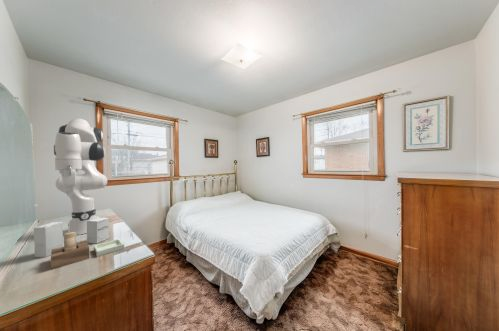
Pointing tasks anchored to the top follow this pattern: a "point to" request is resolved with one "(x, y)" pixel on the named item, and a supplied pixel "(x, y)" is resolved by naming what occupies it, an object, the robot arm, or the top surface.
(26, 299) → the top surface
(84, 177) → the robot arm
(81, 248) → the walnut hole block
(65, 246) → the beech dowel
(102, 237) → the supplement box
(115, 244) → the sage tray
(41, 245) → the skincare box
